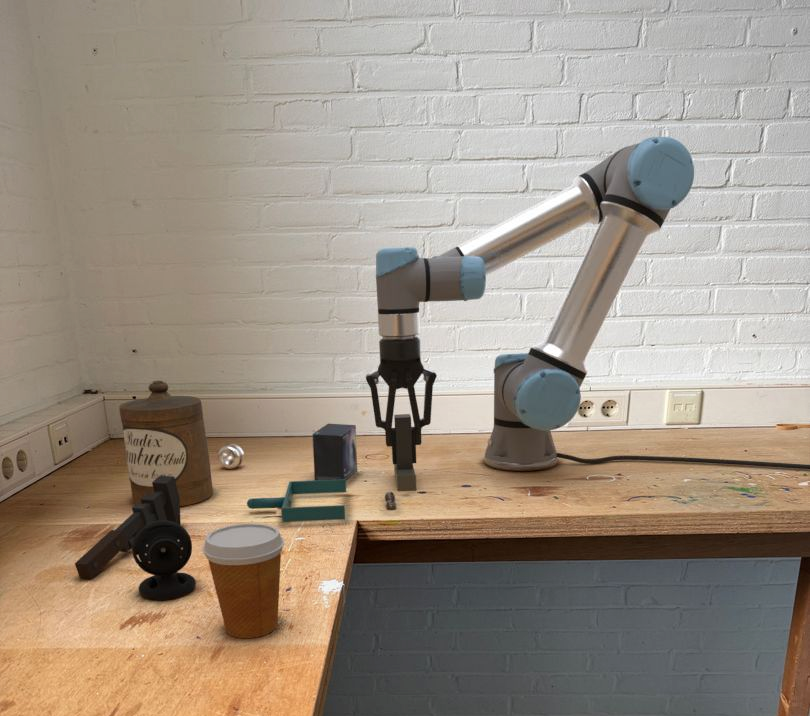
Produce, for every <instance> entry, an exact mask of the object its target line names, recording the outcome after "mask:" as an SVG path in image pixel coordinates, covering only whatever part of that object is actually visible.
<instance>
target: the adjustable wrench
mask: <svg viewBox="0 0 810 716" xmlns="http://www.w3.org/2000/svg"><path fill="white" fill-rule="evenodd" d="M152 485H153V488H154V492H155V493H147V494H146V495H145V496H144V497H142V498H141V503H142V505H140V504H135V503H134V505H133V506H132V507H131V510H132V513H131V515H129V516H128V517H127V518H126V519H125V520H124V521H123V522H122V523H121V524H120V525H118V527H116V528H115V529H111V530H109V531H108V532H107V533H106V534H105V535H103V536H102V538H101V539H100V540H98V541H97V542H96V543H95V544H94V545H93V546H92V547H91V548H90V549H89V550H87V552H85V553H84V554H83V555H82V556H81V557H80V558H79V559H78V560H77V561H76V562H75V563H74V566H75V568H76V572H77V574H78V577H79V579H85V580H93V579H94V577H95V576H97V575H98V574H99V572H101V571H102V570H103V569H104V568H105V567H106V566H107V565H109V563H110V562H111V561H112V560H113V559H114V558H115V557H116V556H117V555H118V554H119V553H128V552H129V551H132V544H133V540H134V538H135V536H136V534H137V532H138V531H139V530H140V529H141V528H142V527H144V526H145V525H147V524H149V523H151V522H153V521H158V520H167V521H172V522H176V523H178V524H179V525H181V506H180V497H179V493H178V489H177V486H176V482H175V478H174V476H159V477H158V478H157V479H155V480H154V481H153V482H152ZM181 526H182V525H181Z"/></svg>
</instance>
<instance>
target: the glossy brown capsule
mask: <svg viewBox="0 0 810 716" xmlns="http://www.w3.org/2000/svg"><path fill="white" fill-rule="evenodd" d="M385 509H386V511H397V504H396V500H395V501H394V500H391V499H390V500H388V501H387V502H386V501H385Z"/></svg>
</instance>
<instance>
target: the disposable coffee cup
mask: <svg viewBox="0 0 810 716" xmlns="http://www.w3.org/2000/svg"><path fill="white" fill-rule="evenodd" d="M284 546H285V540H284V538H283V537H282V536H281V532H280V530H279V529H278V528H277V527H276V526H273V525H271V524H266V523H256V522H255V523H253V522H251V523H247V522H246V523H237V524H232V525H226V526H223V527H219V528H217V529H214V530H211V531H210V532H208V533H207V534H206V536H205V538H204V545H203V546H202V549H201V550H202V553H203V555H204V556H205V558H206V559H207V561H208V565H209V570H210V573H211V577H212V580H213V585H214V589H215V593H216V597H217V600H218V601H217V602H218V604H219V609H220V613H221V617H222V620H223V623H224V624H223V625H224V629H225V632H226V633H227V635H229V636H231V637H233V638H239V639H253V638H259V637H263V636H267V635H268V634H271V633H272V632H274V631H275V630H276V629H277V628H278V625H279V624H278V622H279V621H278V620H279V602H280V601H279V600H280V580H281V560H282V559H281V558H282V552H283V548H284Z"/></svg>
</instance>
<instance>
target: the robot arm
mask: <svg viewBox="0 0 810 716" xmlns="http://www.w3.org/2000/svg"><path fill="white" fill-rule="evenodd" d="M694 178H695V166H694V162H693V158H692V155H691V153H690V152H689V150H688V148H687V147H686V146H685V145H684V144H683V143H682V142H680V141H679V140H677V139H676V138H673V137H669V136H653V137H648V138H645V139H643V140H642V141H640V142H638V143H635V144H631V145H627V146H625V147H622V148H620V149H619V150H617V151H615V152H614V153H612V154H611V155H609V156H607V158H605V159H604V160H602V161H600V163H598V164H596V165H595V166H593V167H592V168H590V169H588V170H586V171H585V172H583V173H580V175H578V176H575V178H574V179H573V181H572V185H571V186H568V187H567V188H564V189H563V190H560V191H559V192H556V193H555V194H553V195H552V196H549V197H548V198H546V199H544V200H542V201H540V202H538V203H536V204H534V205H532V206H530V207H529V208H527V209H525V210H522V211H521V212H519V213H517V214H515V215H514V216H512V217H510V218H507V219H506V220H503V221H502V222H500V223H498V224H496V225H495V226H492V227H491V228H488V229H487V230H485V231H482V232H481V233H479V234H477V235H475V236H474V237H472V238H469V239H468V240H466V241H464V242H462V243H460V244H459V245H456V246H455V247H453V248H451V249H449V250H447V251H446V252H443V253H441V254H440V255H435V256H433V257H431V258H427V257H420V255H419V254H418V253H419V251H418V249H417V248H416V247H415V246H403V247H401V246H400V247H383V248H380V249H379V250H378V251H377V252H376V254H375V283H376V284H375V285H376V286H375V287H376V301H377V303H376V304H377V322H378V323H377V324H378V335H379V336H380V337H381V338H380V340H379V343H378V345H379V365H378V366H377V370H375V371H374V372H371V373H367V374H365V380H366V383H367V384H368V386H369V388H370V395H371V401H372V408H373V414H374V422H375V427H376V428H380V429H383V430H384V434H385V435H384V437H385V445H386V447H390V448H391V457H392V458H391V459H392V465H394V464H397V454H396V431H395V427H393V420H394V412H395V411H394V410H395V403H396V402H395V401H396V394H397V390H400V389H404V390H405V389H406V391H407V394H408V400H409V405H410V410H411V411H410V412H411V417H412V421H413V426H411V431H412V460H413V464H417V446H421V445H422V428H423V427H426V426H430V424H431V421H432V407H433V406H432V403H433V390H434V389H433V388H434V384H435V381H436V379H437V373H436V372H435V371H434V370H429V369H427V368H425V367H424V365H423V363H422V354H421V339H420V337H418V336H419V335H420V334H421V324H420V323H421V322H420V303H428V302H457V301H463V302H467V301H472V300H480V299H482V297H483V296H484V294H485V292H486V285H487V284H486V283H487V276H488V275H491V274H492V273H495V272H496V271H498V270H500V269H502V268H505V267H506V266H508V265H509V264H512V263H514V262H515V261H518V260H520V259H521V258H524V257H525V256H527V255H529V254H531V253H532V252H535V251H537V250H539V249H541V248H542V247H545V246H546V245H549V244H550V243H552V242H554V241H556V240H558V239H560V238H562V237H564V236H565V235H568V234H570V233H572V232H574V231H575V230H578V229H579V228H582V227H583V226H585V225H587V224H588V225H591V226H596V225H597V226H598V227H597V230H596V232H595V234H594V235H593V237H592V239H591V242H590V243H589V246H588V248H587V250H586V252H585V254H584V256H583V258H582V260H581V263H580V264H579V267H578V269H577V270H576V273H575V274H574V276H573V279H572V281H571V283H570V285H569V287H568V289H567V290H566V293H565V295H564V297H563V299H562V301H561V303H560V306H559V307H558V309H557V312H556V314H555V316H554V318H553V320H552V322H551V324H550V326H549V328H548V330H547V332H546V334H545V335H544V336H545V337H544V338H543V340H542V341H541V342H539V343H536V344H534V345H531V347H530V348H529V351H528V352H524V353H523V352H521V353H504V354H502V353H501V354H499V355H497V356H496V357H495V359H494V368H493V378H494V379H493V380H494V381H493V427H492V431H491V434H490V437H489V438H488V440H487V446H486V449H485V452H484V463H485V465H487V466H489V467H490V468H493V469H498V470H503V471H511V472H512V471H513V472H515V471H516V472H533V471H541V470H547V469H550V468H552V467H555V466H556V465H557V464H558V458H559V459H564V460H569V461H573V462H576V463H579V464H580V463H581V464H600V463H606V462H612V461H648V462H649V461H650V462H651V461H652V462H674V463H675V462H676V463H677V462H678V463H699V464H702V463H703V464H717V465H734V466H750V467H766V468H778V469H779V468H783V469H794V470H795V469H796V470H810V464H806V463H805V464H804V463H803V464H802V463H791V462H790V463H787V462H773V461H758V460H757V461H755V460H741V459H739V460H738V459H725V458H724V459H723V458H706V457H705V458H704V457H685V456H683V457H682V456H660V455H659V456H657V455H654V456H653V455H629V454H628V455H627V454H626V455H625V454H624V455H611V456H604V457H600V458H599V457H598V458H581V457H577V456H574V455H572V454H571V455H570V454H565V453H561V452H557V449H556V446H555V443H554V439H553V436H552V431H554V430H557V429H560V428H563V427H564V426H565V425H567V424H568V423H569V422H571V421H572V420H573V418H574V417H575V416H576V414H577V413H578V411H579V409H580V405H581V398H582V395H581V389H580V388H581V387H582V384H583V383H584V380H585V378H586V376H587V375H588V369H587V366H586V358H587V356H588V354H589V353H590V351H591V349H592V346H593V344H594V342H595V341H596V339H597V336H598V334H599V333H600V330H601V328H602V326H603V324H604V323H605V321H606V319H607V316H608V315H609V312H610V311H611V309H612V307H613V305H614V303H615V301H616V299H617V297H618V295H619V294H620V291H621V289H622V288H623V287H622V286H623V285H624V284H625V281H626V279H627V278H628V275H629V273H630V272H631V269H632V267H633V265H634V263H635V261H636V259H637V257H638V255H639V253H640V251H641V249H642V247H643V246H644V243H645V241H646V240H647V238H648V237H650V236H652V235H654V234H657V233H659V232H660V231H661V228H662V227H663V224H664V223H665V221H666V218H667V217H668V215H669V213H670V212H671V209H673V208H676V207H677V206H678V205H679V204H680V203H682V202H683V201H684V200H685V199H686V197H687V196H688V195H689V193H690V191H691V189H692V187H693V183H694ZM598 224H599V225H598ZM422 375H423V381H424V382H425V383H424V384H425V385H424V398H423V399H424V400H423V416H422V417H423V418H420V412H419V406H418V401H417V396H416V390H415V385H416V383H417V382H418V380H419V379H420V377H421V376H422ZM380 377H381V378H382V380H383V381H384V383H385V384H386V385H387V386H388V389H387V390H388V391H387V393H388V394H387V401H386V412H385V420H383V419H382V414H381V413H382V412H381V407H380V399H379V392H378V384H379V383H380V379H379V378H380Z"/></svg>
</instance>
